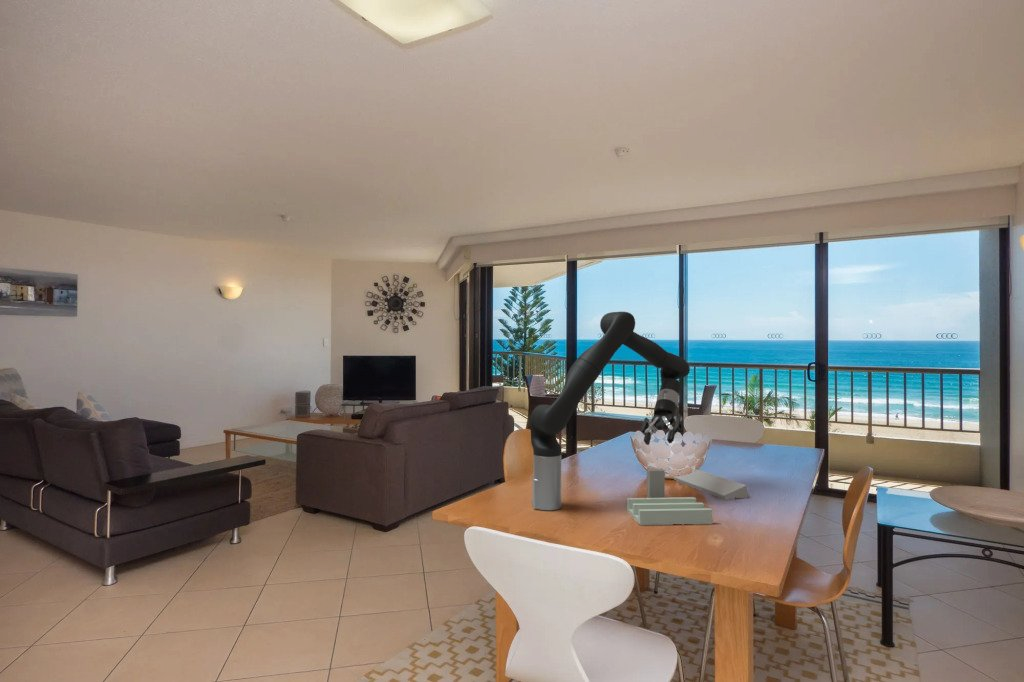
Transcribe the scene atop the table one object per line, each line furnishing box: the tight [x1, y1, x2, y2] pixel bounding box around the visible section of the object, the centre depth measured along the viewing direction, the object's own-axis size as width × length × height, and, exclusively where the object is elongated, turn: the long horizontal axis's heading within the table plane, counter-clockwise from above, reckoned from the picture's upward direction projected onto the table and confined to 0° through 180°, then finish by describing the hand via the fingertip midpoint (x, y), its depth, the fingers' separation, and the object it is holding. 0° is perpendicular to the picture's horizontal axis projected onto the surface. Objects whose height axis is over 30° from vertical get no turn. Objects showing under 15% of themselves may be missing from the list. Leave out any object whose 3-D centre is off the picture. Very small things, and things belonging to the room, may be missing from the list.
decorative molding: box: [673, 468, 750, 501], centre depth 208 cm, size 34×5×10 cm
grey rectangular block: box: [646, 468, 666, 498], centre depth 183 cm, size 5×3×12 cm, turn 94°
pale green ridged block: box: [626, 496, 713, 526], centre depth 171 cm, size 22×14×4 cm, turn 94°
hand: (657, 442), depth 187 cm, fingers open, 8 cm apart
